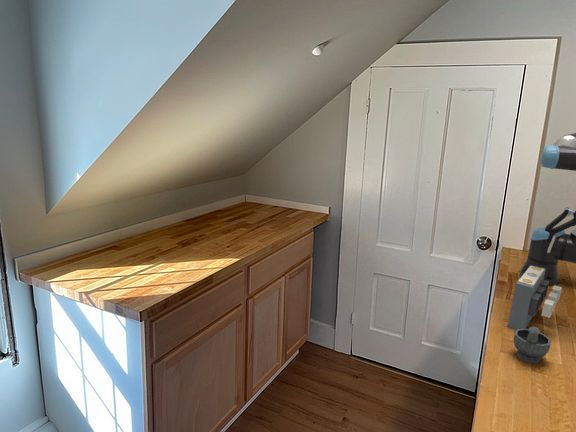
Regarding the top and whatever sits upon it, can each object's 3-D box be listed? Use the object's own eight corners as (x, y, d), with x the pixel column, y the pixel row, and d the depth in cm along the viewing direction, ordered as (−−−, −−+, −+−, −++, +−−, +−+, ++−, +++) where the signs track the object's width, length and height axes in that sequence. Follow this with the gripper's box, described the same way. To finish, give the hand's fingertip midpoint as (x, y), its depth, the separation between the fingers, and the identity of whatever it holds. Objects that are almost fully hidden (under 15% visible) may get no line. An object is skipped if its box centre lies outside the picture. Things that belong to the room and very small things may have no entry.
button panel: (522, 304, 167) (530, 263, 162) (543, 310, 162) (552, 268, 158) (507, 326, 148) (516, 281, 144) (530, 334, 144) (540, 288, 140)
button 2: (551, 296, 158) (554, 285, 157) (559, 298, 157) (561, 287, 156) (549, 300, 155) (552, 288, 154) (557, 302, 154) (559, 290, 152)
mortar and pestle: (512, 345, 137) (519, 310, 134) (546, 355, 132) (555, 319, 129) (508, 361, 128) (516, 324, 124) (544, 373, 123) (553, 335, 120)
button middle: (547, 303, 152) (550, 291, 151) (555, 305, 151) (558, 293, 150) (545, 307, 149) (548, 295, 148) (553, 309, 147) (556, 297, 146)
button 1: (543, 311, 146) (546, 299, 145) (551, 313, 145) (554, 301, 144) (541, 315, 143) (544, 303, 142) (549, 317, 141) (552, 305, 140)
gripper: (549, 193, 138) (528, 250, 148) (644, 217, 126) (615, 276, 136) (552, 186, 144) (532, 240, 154) (643, 208, 132) (615, 265, 142)
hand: (571, 257), depth 145 cm, fingers open, 13 cm apart
